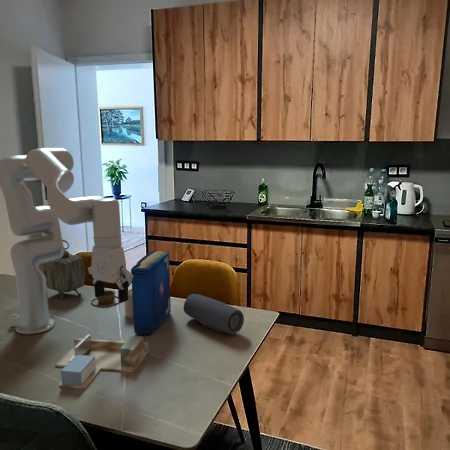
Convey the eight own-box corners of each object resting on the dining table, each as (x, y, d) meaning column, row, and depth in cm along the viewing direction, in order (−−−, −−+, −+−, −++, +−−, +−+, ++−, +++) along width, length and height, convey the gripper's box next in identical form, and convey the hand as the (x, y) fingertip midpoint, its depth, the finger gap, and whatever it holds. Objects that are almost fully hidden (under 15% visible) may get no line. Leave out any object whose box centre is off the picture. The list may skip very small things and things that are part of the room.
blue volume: (150, 338, 147) (148, 266, 143) (131, 336, 149) (128, 265, 144) (171, 313, 168) (169, 250, 164) (153, 312, 170) (151, 249, 165)
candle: (127, 319, 163) (126, 293, 161) (123, 314, 168) (122, 289, 166) (141, 316, 166) (140, 291, 164) (137, 311, 170) (136, 287, 169)
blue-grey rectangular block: (61, 384, 118) (60, 370, 117) (77, 367, 127) (76, 354, 126) (81, 386, 117) (80, 372, 116) (95, 369, 126) (95, 356, 125)
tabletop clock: (86, 296, 187) (82, 239, 183) (70, 303, 179) (66, 243, 175) (60, 291, 193) (56, 236, 188) (44, 298, 185) (39, 240, 180)
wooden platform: (36, 384, 119) (34, 364, 118) (77, 345, 142) (75, 328, 141) (121, 391, 116) (120, 370, 114) (148, 350, 138) (148, 332, 137)
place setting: (101, 296, 189) (101, 283, 188) (146, 298, 187) (146, 285, 185) (83, 311, 172) (82, 297, 171) (131, 314, 169) (131, 299, 168)
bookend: (68, 362, 129) (67, 346, 128) (82, 348, 138) (81, 333, 137) (78, 363, 129) (77, 347, 128) (91, 349, 138) (90, 334, 137)
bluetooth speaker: (245, 332, 152) (245, 305, 150) (226, 341, 145) (226, 312, 144) (201, 314, 168) (201, 289, 166) (182, 321, 161) (182, 295, 159)
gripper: (76, 241, 127) (81, 297, 130) (120, 247, 118) (123, 308, 121) (96, 236, 133) (100, 290, 136) (139, 242, 124) (142, 299, 127)
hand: (111, 298), depth 128 cm, fingers open, 9 cm apart
